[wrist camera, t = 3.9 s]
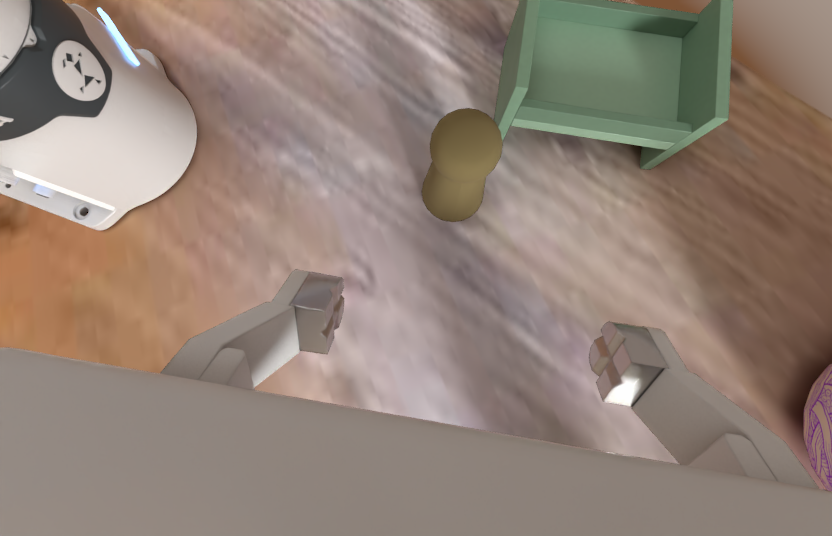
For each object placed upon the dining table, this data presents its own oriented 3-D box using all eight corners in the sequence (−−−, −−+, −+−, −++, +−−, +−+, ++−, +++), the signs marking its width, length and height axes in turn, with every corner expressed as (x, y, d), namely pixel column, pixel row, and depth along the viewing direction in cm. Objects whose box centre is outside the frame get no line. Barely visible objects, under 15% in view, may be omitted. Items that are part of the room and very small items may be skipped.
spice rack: (490, 145, 36) (515, 86, 27) (504, 47, 37) (532, -38, 28) (649, 170, 35) (728, 119, 26) (657, 70, 37) (733, -9, 28)
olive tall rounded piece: (433, 155, 36) (441, 81, 25) (491, 174, 35) (525, 109, 24) (413, 210, 35) (412, 159, 24) (472, 230, 34) (498, 188, 24)
